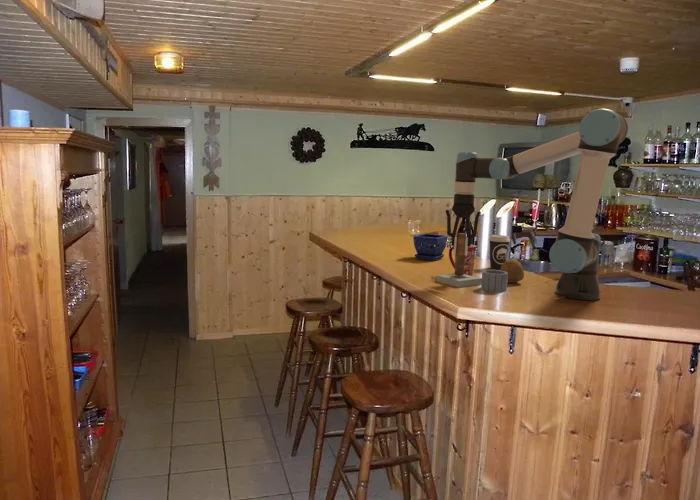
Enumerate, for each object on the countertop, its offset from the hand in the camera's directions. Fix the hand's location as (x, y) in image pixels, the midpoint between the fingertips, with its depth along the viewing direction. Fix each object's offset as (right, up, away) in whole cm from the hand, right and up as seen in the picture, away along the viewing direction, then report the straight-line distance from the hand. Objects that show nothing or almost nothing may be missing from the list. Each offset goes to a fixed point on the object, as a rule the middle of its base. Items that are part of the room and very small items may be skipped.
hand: (460, 254), depth 210 cm
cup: (+11, -13, -8) cm, 19 cm away
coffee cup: (+25, -7, +40) cm, 48 cm away
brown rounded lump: (+22, -12, +7) cm, 26 cm away
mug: (+4, -10, +19) cm, 21 cm away
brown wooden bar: (0, -8, +1) cm, 8 cm away
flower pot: (-3, -3, +62) cm, 62 cm away
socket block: (0, -12, +2) cm, 12 cm away
